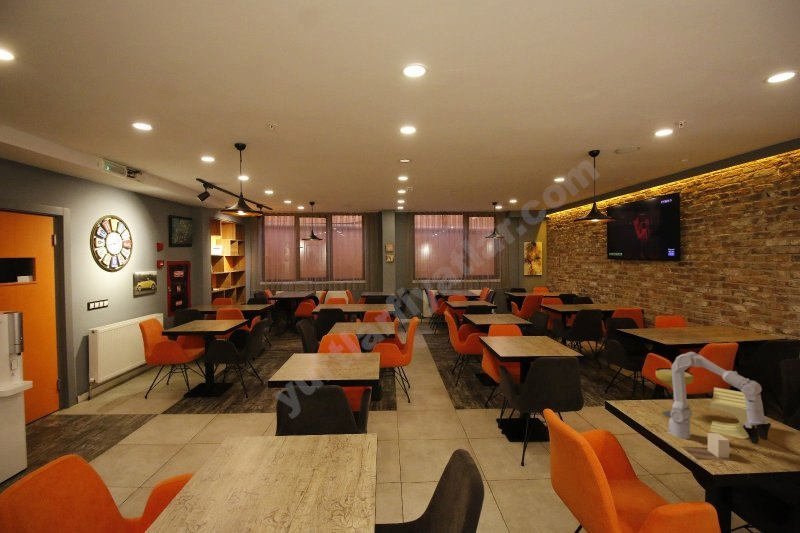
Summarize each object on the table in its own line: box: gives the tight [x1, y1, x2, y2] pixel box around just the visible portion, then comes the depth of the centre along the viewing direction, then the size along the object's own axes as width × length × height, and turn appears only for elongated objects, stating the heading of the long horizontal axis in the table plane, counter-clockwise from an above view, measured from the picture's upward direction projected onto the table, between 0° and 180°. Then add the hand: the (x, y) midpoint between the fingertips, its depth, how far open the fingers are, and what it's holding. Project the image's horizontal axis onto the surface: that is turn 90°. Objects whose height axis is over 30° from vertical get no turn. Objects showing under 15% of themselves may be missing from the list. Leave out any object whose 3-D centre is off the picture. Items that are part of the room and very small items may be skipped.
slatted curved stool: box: [709, 386, 749, 439], centre depth 205 cm, size 30×16×18 cm, turn 138°
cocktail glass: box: [655, 367, 695, 418], centre depth 226 cm, size 18×18×25 cm
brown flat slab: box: [681, 446, 736, 462], centre depth 179 cm, size 12×16×2 cm
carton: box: [707, 432, 730, 458], centre depth 179 cm, size 7×4×8 cm, turn 174°
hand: (759, 441), depth 172 cm, fingers open, 7 cm apart
